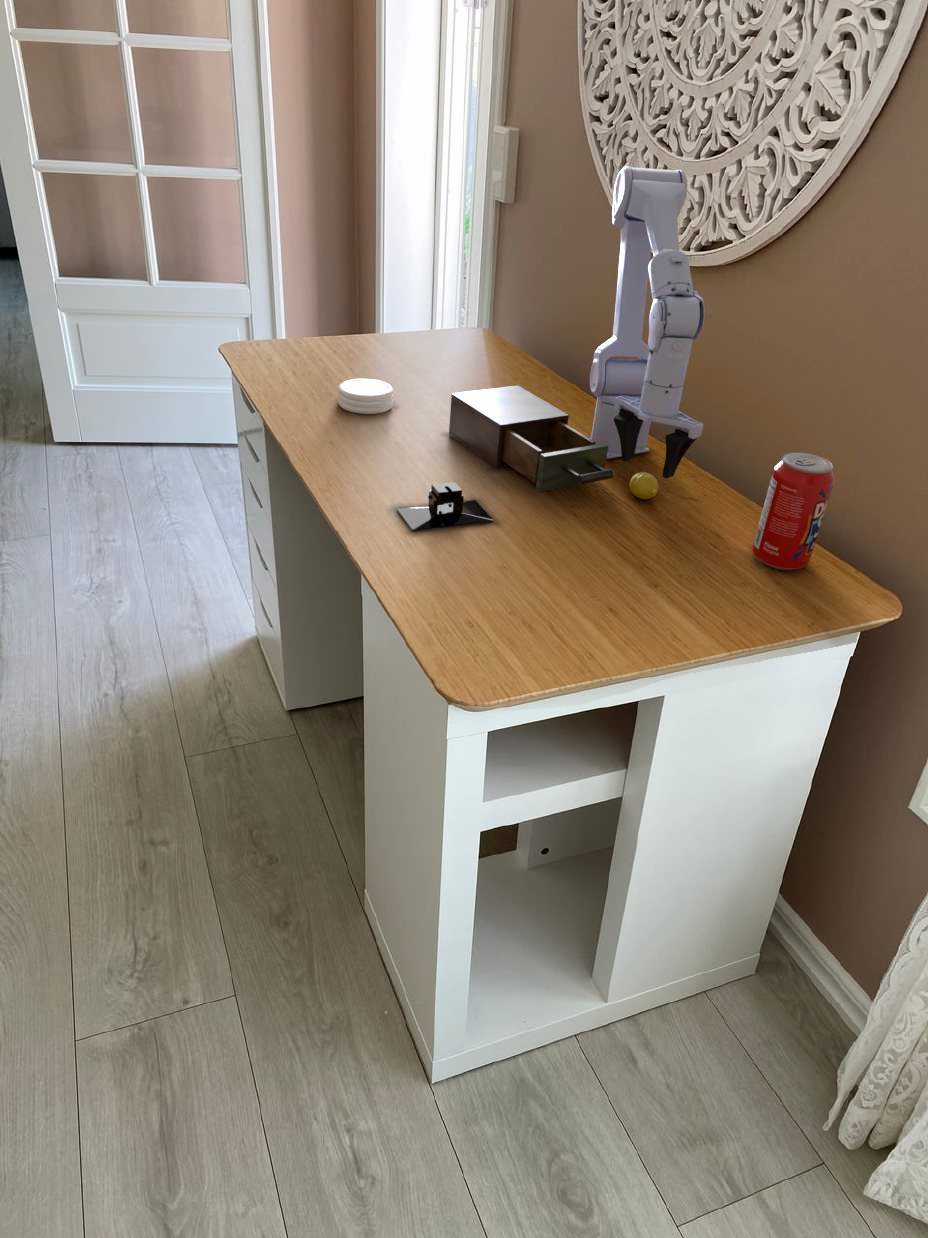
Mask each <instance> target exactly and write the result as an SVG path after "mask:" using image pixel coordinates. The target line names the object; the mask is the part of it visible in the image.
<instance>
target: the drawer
mask: <svg viewBox="0 0 928 1238" xmlns="http://www.w3.org/2000/svg"><path fill="white" fill-rule="evenodd" d="M590 438H591V437H589V436H587V435H585V434H583V433H582V432H580V431H579V430H577V429H575V428H574V427H572V426H570V425H566V424H565V423H563V422H561V421H560V420H558V421H552V422H545V423H538V424H532V425H525V426H518V427H512V428H505V429H503V439H502V449H501V458H500V459H501V460H502V461H504V462H505V463H506V464H508V465H509V466H508V467H511V468H512V469H514V470H515V471H517V472H518V473H519V474H520V475H522V476H524V478H526V479H528V480H529V481H530V482H532V483H534V484H535V486H536V487H535V489H536V490H537V491H539V492H545V491H550V490H556V489H561V488H566V487H570V486H576V485H584V484H589V483H595V482H600V481H604V480H605V481H606V480H610V479H613V478H614V474H615V473H614V470H613V469H611V468H609V469H606V464H607V459H606V458H607V452H608V445H606V444H604V443H603V444H597V445H595V444H596V442H595V441H593V440H592V439H590Z"/></svg>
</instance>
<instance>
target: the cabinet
mask: <svg viewBox="0 0 928 1238" xmlns="http://www.w3.org/2000/svg"><path fill="white" fill-rule="evenodd" d="M450 396H451V399H450V409H449V410H450V411H449V426H448V427H449V428H448V435H449V436H450V437H451V438H452V439H454V440H455V441H457V442H458V443H460V444H461V445H462V446H464V447H465V448H466V449H468V450H469V451H471V452H472V453H473V454H475V455H476V456H478V457H479V458H481V459H482V460H484V462H486V463H488V465H490V466H492V467H493V468H495V469H501V468H507V467H510V466H509V465H508V464H506V463H505V462H504V461H502V460H501V459H500V458H501V449H502V439H503V429H505V428H512V427H518V426H525V425H532V424H538V423H545V422H552V421H558V420H560V421H561V422H563V423H565V424H566V425H568V424H569V416H570V415H569V414H568V413H566V412H564V411H563V410H560V409H559V408H558V407H556V406H554V405H552V404H550V403H549V402H547V401H545V400H543V399H542V398H541V397H538V396H537V395H535V394H534V393H532V392H530V391H528V390H526V389H525V388H523V387H521V386H519V385H517V384H516V385H510V386H502V387H501V386H500V387H493V388H485V389H477V390H468V391H461V392H452V393H451V395H450ZM568 426H569V425H568Z"/></svg>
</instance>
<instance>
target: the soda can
mask: <svg viewBox="0 0 928 1238" xmlns="http://www.w3.org/2000/svg"><path fill="white" fill-rule="evenodd" d="M833 468H834V465H833V463H832V462H830V460H828V459H827V458H824V457H822V456H819V455H816V454H813V453H808V452H801V451H799V452H798V451H792V452H791V451H790V452H787V453H784V454H783V455H782V457H781V460H780V461H779V462H778V463H776V464H775V465H774V467H773V470H772V473H771V477H770V481H769V485H768V489H767V492H766V496H765V500H764V502H763V503H764V504H763V507H762V511H761V514H760V518H759V521H758V526H757V529H756V532H755V537H754V541H753V544H752V554H753V555H754V556H755V558H756V559H757V560H758V561H760V562H761V563H762V564H763V565H766V566H768V567H770V568H773V569H775V570H780V571H794V570H799V569H802V568H805V567H806V566H808V564H809V563H810V560H811V558H812V555H813V551H814V548H815V545H816V542H817V538H818V535H819V533H820V529H821V526H822V523H823V518H824V516H825V513H826V510H827V507H828V503H829V500H830V497H831V494H832V491H833V488H834V484H835V479H836V478H835V475H834V473H833Z"/></svg>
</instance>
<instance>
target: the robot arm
mask: <svg viewBox="0 0 928 1238" xmlns="http://www.w3.org/2000/svg"><path fill="white" fill-rule="evenodd" d="M687 194H688V179H687V176H686V174H685V172H684V170H683V169H676V170H675V169H665V168H664V169H661V168H650V167H649V168H648V167H635V166H634V167H633V166H630V165H624V166H623V167H622V168H621V169H620V170H619V172H618V173H617V176H616V180H615V183H614V188H613V199H612V210H611V217H612V221H611V222H612V224H613V225H614V226H615V227H617V228H618V229H620V250H619V260H618V261H619V262H618V274H617V282H616V283H617V286H616V293H615V294H616V296H615V306H614V318H613V329H612V337H610V338H609V339H607V340H606V341H605V342H603V343H602V344H601V345H599V346H598V347H597V348H596V349H595V351H594V353H593V359H592V364H591V367H590V374H589V387H590V391H591V393H592V394H593V396H594V397H596V404H595V410H594V414H593V415H594V416H593V423H592V427H591V428H592V430H591V434H590V437H589V438H590V439H592V440H593V441H595V442H596V444H595V445H597V444H603V443H604V444H606V445H608V452H607V458H606V460H609V459H615V458H620V457H621V461H622V462H623V463H627V462H628V461H631V460H633V459H634V457H635V455H637V454H638V455H639V454H642V453H643V454H644V453H649V452H650V449H649V447H647V445H648V438H649V434H650V429H651V424H652V423H654V424H657V425H660V426H662V427H665V428H668V429H670V430H673V431H674V432H672V433H668V434H666V435H665V457H664V458H665V459H664V463H663V468H662V478H664V479H665V480H667V479H669V478H671V477H674V476H675V473H676V472H677V469H678V467H679V465H680V463H681V461H682V459H683V457H684V456H685V454H686V453H687V452H688V450H689V449H690V448H691V446H692V445H693V444H694V443H695V442H696V441H697V440H698V438H700V437H702V434H703V429H704V423H703V422H700V421H698V420H696V419H694V418H692V417H690V416H689V415H687V414H685V413H683V412H681V411H680V410H679V409H680V404H681V401H682V395H683V391H684V385H685V382H686V376H687V370H688V367H689V366H688V365H689V361H690V356H691V352H692V347H693V342H694V341H693V340H697V339H698V338H699V337H700V335H701V334H702V331H703V328H704V323H705V317H706V316H705V315H706V312H705V311H706V310H705V302H704V298H703V297H702V296H700V295H699V292H698V291H697V290H695V289H694V286H693V280H692V273H691V268H690V261H689V257H688V255H687V254H686V253H684V252H682V251H680V243H679V242H680V241H679V225H678V223H679V222H678V218H679V216H680V214H681V211H682V209H683V207H684V205H685V203H686V198H687ZM651 250H652V251H651ZM651 252H652V254H653V257H652V258H651ZM648 281H649V284H650V285H649V286H650V292H651V298H652V304H651V308H650V311H649V318H648V338H647V343H646V342H645V341H644V340H643V333H644V332H643V331H644V322H645V321H644V320H645V313H646V303H647V293H648V292H647V290H648ZM613 357H627V358H628V357H630V358H638V359H627V358H613Z"/></svg>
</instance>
